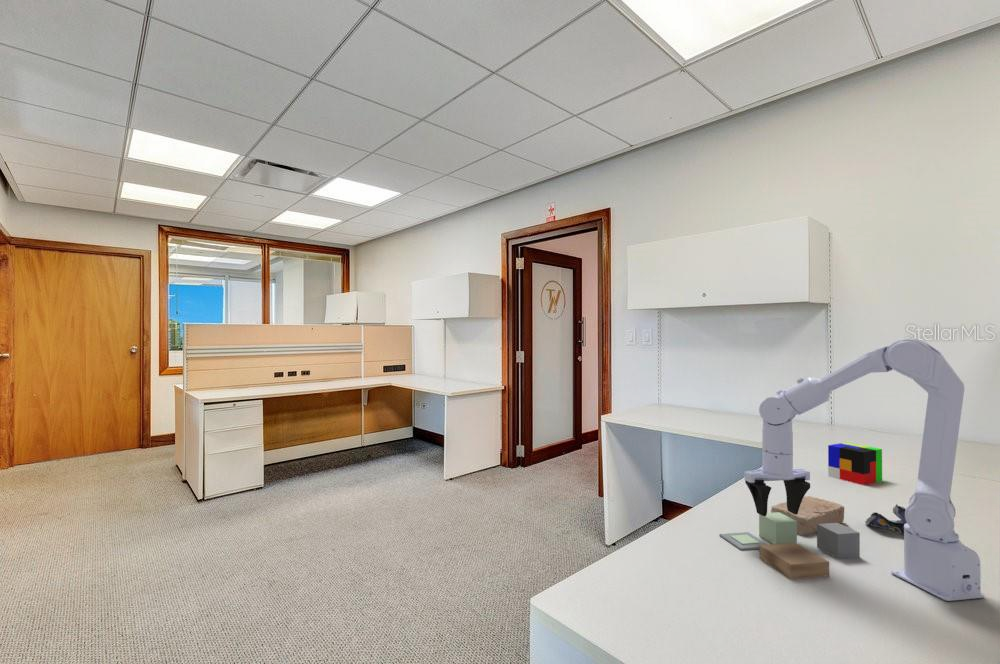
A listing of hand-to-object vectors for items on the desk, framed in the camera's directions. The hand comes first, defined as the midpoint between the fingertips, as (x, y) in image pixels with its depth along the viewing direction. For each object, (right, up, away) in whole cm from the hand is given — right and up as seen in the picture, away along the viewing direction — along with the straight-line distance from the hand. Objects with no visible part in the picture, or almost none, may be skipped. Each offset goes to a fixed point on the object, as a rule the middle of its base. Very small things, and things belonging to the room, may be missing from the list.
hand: (777, 513), depth 100 cm
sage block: (0, -6, 0) cm, 6 cm away
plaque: (-8, -6, -1) cm, 10 cm away
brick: (+13, -6, +9) cm, 17 cm away
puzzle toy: (+52, -7, +44) cm, 69 cm away
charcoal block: (+9, -6, -6) cm, 12 cm away
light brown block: (-4, -6, -12) cm, 14 cm away
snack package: (+32, -6, +4) cm, 32 cm away
